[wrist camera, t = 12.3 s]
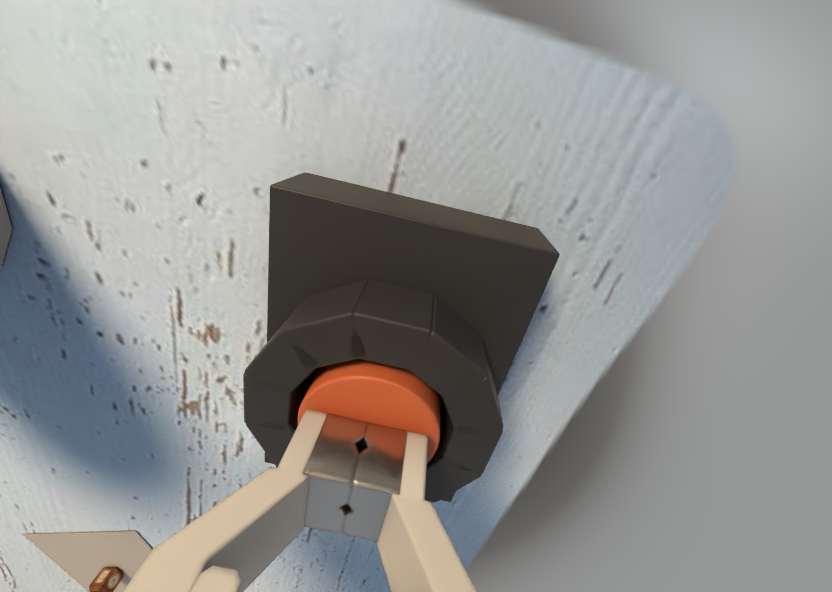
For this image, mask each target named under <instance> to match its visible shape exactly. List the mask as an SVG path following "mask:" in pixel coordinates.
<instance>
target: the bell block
mask: <svg viewBox="0 0 832 592" xmlns="http://www.w3.org/2000/svg"><path fill="white" fill-rule="evenodd" d="M558 257H559V253H558V252H557V250H556V249H555V248H554V247H553V246H552V244H551V243H550V242H549V241H548V240H547V239H546V237H545V236H544V235H543V234H542V233H541V231H540V230H539V229H538V228H534V227H530V226H526V225H522V224H517V223H513V222H509V221H505V220H501V219H497V218H492V217H488V216H484V215H480V214H476V213H472V212H467V211H463V210H459V209H455V208H451V207H447V206H442V205H438V204H434V203H430V202H426V201H422V200H417V199H413V198H409V197H405V196H401V195H397V194H393V193H388V192H384V191H380V190H376V189H372V188H368V187H363V186H359V185H355V184H351V183H347V182H343V181H338V180H334V179H330V178H326V177H322V176H318V175H313V174H309V173H302V174H299V175H297V176H294V177H291V178H289V179H286V180H283V181H281V182H278V183H275V184H272V185H271V186H270V223H269V273H268V324H267V344H266V345H265V346H264V347H263V348H262V350H261V351H260V352H259V353H258V355H257V356H256V357H255V358H254V360H253V361H252V362H251V363H250V365H249V366H248V367H247V368H246V370H245V373H244V422H245V423H246V425H247V427H248V428H249V430H250V431H251V433H252V434H253V435H254V437H255V438H256V440H257V441H258V442H259V444H260V445H261V447H262V448H263V449H264V451H265V462H267V463H272V464H275V465H276V467H277V468H278V466H279V464H280V462H281V460H282V458H283V455H284V453H285V451H286V449H287V447H288V445H289V443H290V441H291V439H292V437H293V435H294V433H295V431H296V429H297V427H298V411H299V408H300V405H301V403H302V401H303V399H304V397H305V395H306V393H307V391H308V389H309V387H310V385H311V383H312V381H313V379H314V377H315V375H316V373H317V371H318V370H319V368H320V367H324V366H329V365H333V364H338V363H342V362H347V361H352V360H356V359H362V360H367V361H371V362H376V363H380V364H385V365H389V366H394V367H398V368H402V369H407V370H409V371H410V372H411V373H413V374H414V375H415V376H417V377H418V378H419V379H421V380H422V381H423V382H424V383H426V384H427V385H428V386H430V387H431V388H432V389H433V390H435V391H436V392H437V393H439V394H440V395H441V420H440V441H439V445H438V448H437V450H436V452H435V454H434V456H433V457H432V458H431V460H430V461H429V462H428V463H427V467H426V485H425V500H426V501H430V502H436V501H439V500H444V501H449V502H451V500H452V498H453V496H454V493H455V491H456V490H458V489H460V488H461V487H463V486H465V485H467V484H468V483H470V482H472V481H473V480H475V479H477V478H479V477H480V476H481V475H482V473H483V472H484V469H485V467H486V465H487V463H488V461H489V459H490V457H491V455H492V453H493V451H494V449H495V447H496V445H497V442H498V440H499V438H500V436H501V434H502V432H503V431H502V429H503V423H502V418H501V413H500V407H499V402H498V394H499V391H500V389H501V387H502V385H503V382H504V380H505V378H506V375H507V373H508V371H509V369H510V366H511V364H512V362H513V360H514V357H515V355H516V353H517V350H518V348H519V346H520V344H521V341H522V339H523V337H524V335H525V332H526V330H527V328H528V326H529V323H530V321H531V319H532V316H533V314H534V312H535V310H536V307H537V305H538V303H539V301H540V298H541V296H542V294H543V292H544V289H545V287H546V285H547V282H548V280H549V278H550V276H551V273H552V271H553V269H554V267H555V264H556V262H557V260H558Z"/></svg>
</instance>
